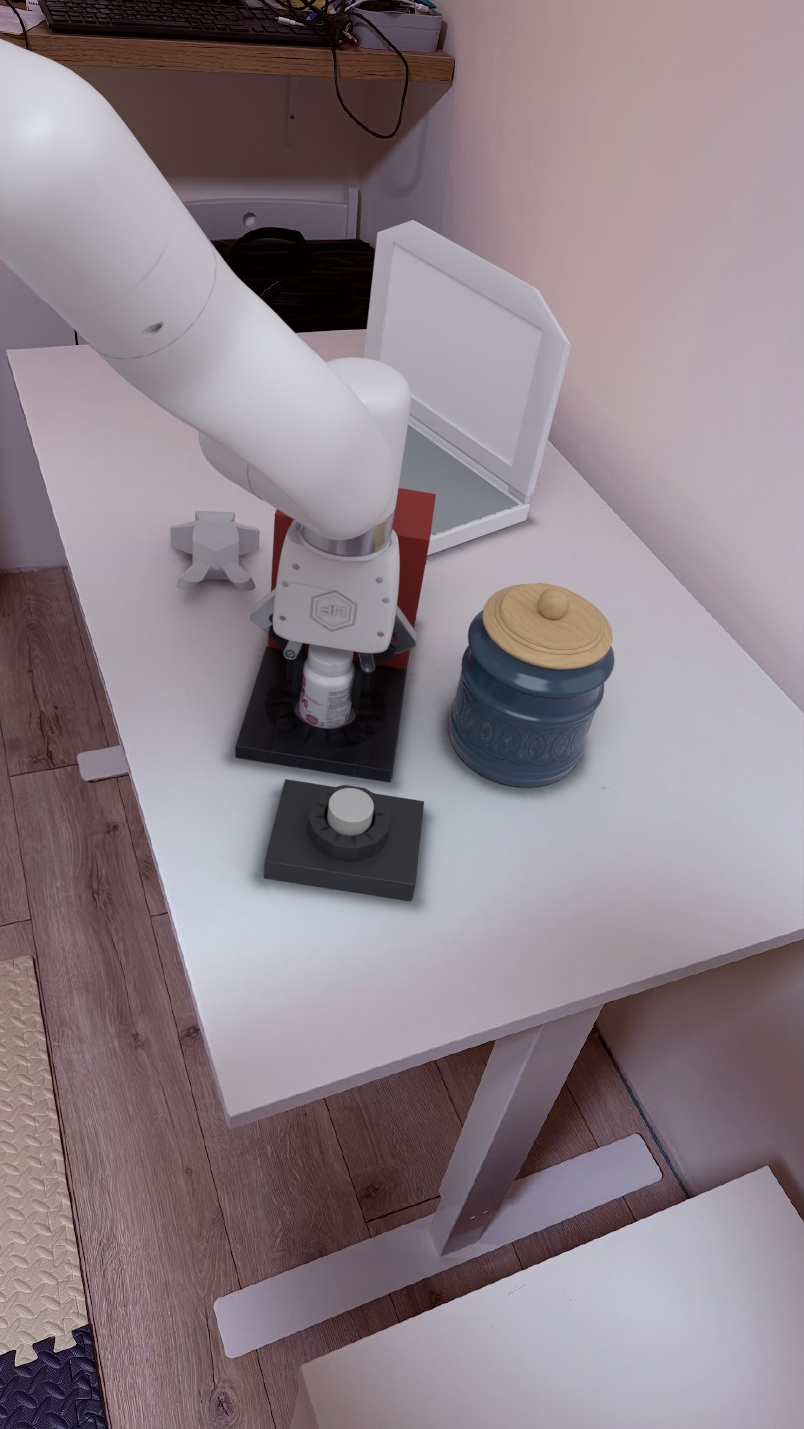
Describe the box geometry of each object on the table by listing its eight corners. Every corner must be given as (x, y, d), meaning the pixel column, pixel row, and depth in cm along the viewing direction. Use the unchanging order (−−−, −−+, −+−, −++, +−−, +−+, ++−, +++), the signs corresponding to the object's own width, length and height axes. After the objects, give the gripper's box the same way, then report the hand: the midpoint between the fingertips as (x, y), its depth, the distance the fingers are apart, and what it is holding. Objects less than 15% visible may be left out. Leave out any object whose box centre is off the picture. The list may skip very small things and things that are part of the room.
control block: (263, 878, 81) (265, 846, 78) (283, 795, 87) (286, 763, 85) (411, 901, 81) (418, 871, 78) (420, 817, 88) (427, 786, 85)
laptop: (216, 438, 129) (217, 220, 111) (365, 401, 142) (389, 201, 124) (374, 575, 112) (406, 345, 94) (528, 520, 125) (582, 307, 107)
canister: (607, 766, 95) (665, 619, 83) (495, 808, 90) (540, 657, 78) (529, 680, 103) (571, 534, 91) (420, 713, 97) (451, 562, 85)
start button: (324, 832, 80) (325, 817, 79) (330, 798, 83) (332, 784, 82) (368, 839, 81) (371, 825, 79) (373, 805, 83) (376, 791, 82)
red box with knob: (265, 658, 100) (272, 520, 89) (281, 603, 107) (290, 469, 96) (405, 681, 100) (429, 546, 89) (412, 625, 107) (436, 493, 96)
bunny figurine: (257, 500, 113) (264, 565, 101) (256, 541, 116) (262, 609, 104) (171, 496, 111) (167, 563, 100) (172, 538, 114) (168, 608, 103)
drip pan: (235, 757, 90) (235, 746, 89) (265, 657, 100) (266, 646, 99) (390, 782, 90) (392, 771, 89) (405, 680, 100) (407, 669, 99)
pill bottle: (288, 710, 95) (293, 641, 89) (330, 694, 98) (338, 625, 92) (316, 742, 93) (323, 673, 87) (358, 724, 95) (368, 656, 89)
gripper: (229, 527, 77) (226, 701, 90) (448, 564, 78) (415, 732, 90) (249, 478, 83) (243, 648, 95) (454, 512, 83) (421, 677, 96)
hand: (327, 687), depth 92 cm, fingers closed on pill bottle, 4 cm apart
